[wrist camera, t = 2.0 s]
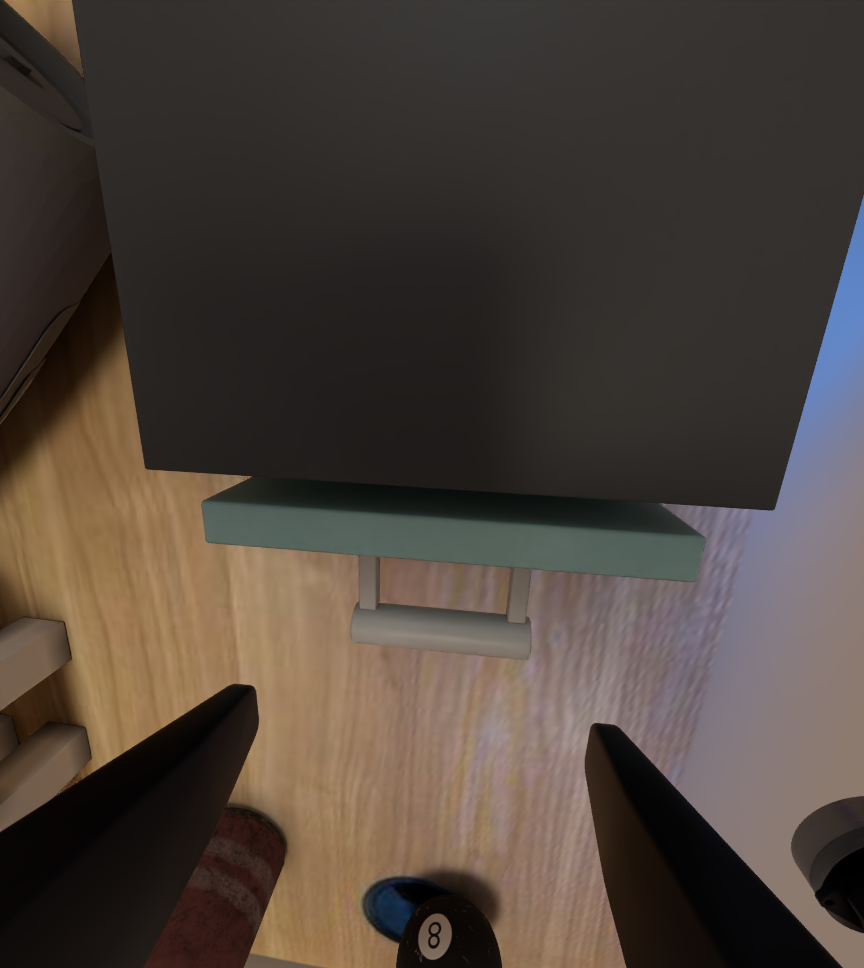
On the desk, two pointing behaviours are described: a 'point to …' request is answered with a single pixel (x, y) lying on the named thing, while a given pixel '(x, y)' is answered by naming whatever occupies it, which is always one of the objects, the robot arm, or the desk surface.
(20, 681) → the toy llama
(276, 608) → the desk surface
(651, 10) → the drawer box
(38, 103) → the bluetooth speaker
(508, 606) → the mint green drawer
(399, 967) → the billiard ball
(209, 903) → the can
